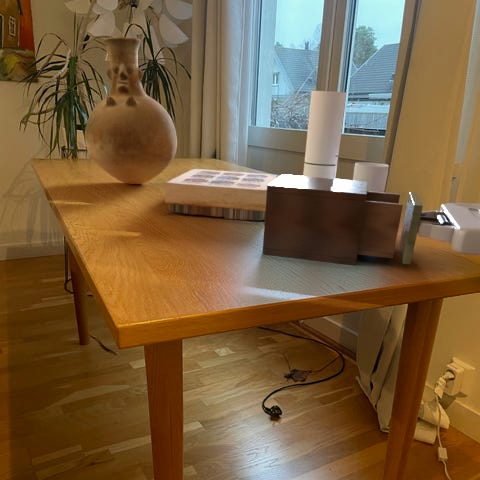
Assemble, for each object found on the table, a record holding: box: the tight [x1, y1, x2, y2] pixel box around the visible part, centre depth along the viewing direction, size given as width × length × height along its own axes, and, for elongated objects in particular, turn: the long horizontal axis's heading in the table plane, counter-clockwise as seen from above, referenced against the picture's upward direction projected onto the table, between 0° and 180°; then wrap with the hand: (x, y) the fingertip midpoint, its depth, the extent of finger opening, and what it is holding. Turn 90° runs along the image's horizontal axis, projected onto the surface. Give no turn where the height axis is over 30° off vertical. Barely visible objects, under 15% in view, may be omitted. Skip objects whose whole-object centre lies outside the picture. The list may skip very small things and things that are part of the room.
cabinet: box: [262, 174, 368, 266], centre depth 80 cm, size 15×13×11 cm
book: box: [164, 168, 279, 222], centre depth 110 cm, size 25×6×28 cm
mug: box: [352, 161, 390, 193], centre depth 101 cm, size 10×7×12 cm, turn 161°
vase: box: [84, 36, 178, 185], centre depth 125 cm, size 24×24×35 cm
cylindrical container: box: [302, 90, 347, 179], centre depth 104 cm, size 7×7×25 cm
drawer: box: [357, 191, 451, 265], centre depth 77 cm, size 19×12×9 cm, turn 75°
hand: (415, 222), depth 76 cm, fingers open, 8 cm apart
